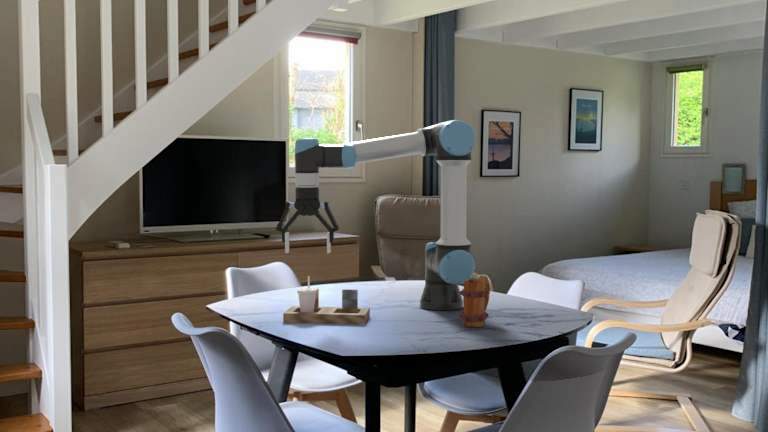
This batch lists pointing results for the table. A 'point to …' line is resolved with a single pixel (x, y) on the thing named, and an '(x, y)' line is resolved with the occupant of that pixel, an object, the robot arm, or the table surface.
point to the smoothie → (307, 298)
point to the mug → (475, 301)
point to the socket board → (331, 312)
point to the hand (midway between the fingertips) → (308, 252)
